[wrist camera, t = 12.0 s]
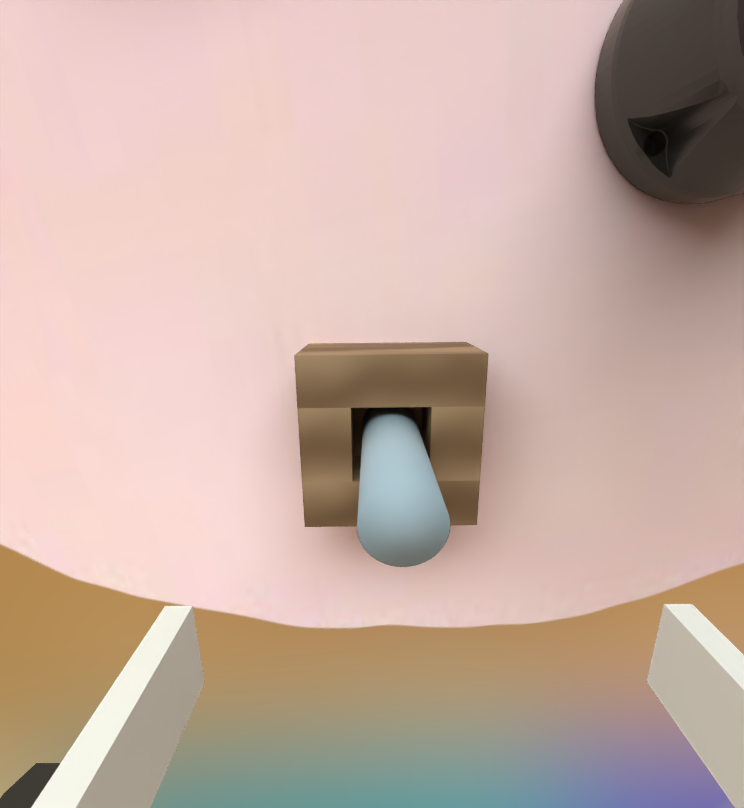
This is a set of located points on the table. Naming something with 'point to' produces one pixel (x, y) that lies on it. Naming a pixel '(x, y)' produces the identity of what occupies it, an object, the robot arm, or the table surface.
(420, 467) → the pin
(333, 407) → the socket block
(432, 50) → the table surface
